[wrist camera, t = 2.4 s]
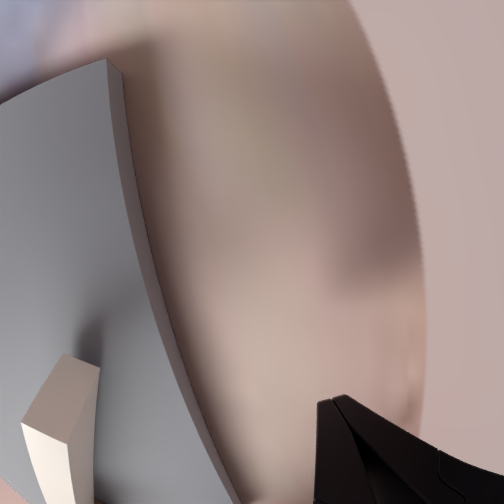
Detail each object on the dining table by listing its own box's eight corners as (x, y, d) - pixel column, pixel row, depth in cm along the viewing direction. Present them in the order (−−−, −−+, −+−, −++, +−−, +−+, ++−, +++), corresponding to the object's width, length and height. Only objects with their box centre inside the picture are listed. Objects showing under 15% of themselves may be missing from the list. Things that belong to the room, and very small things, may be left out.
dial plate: (243, 507, 13) (246, 529, 12) (38, 494, 12) (33, 510, 10) (122, 73, 7) (102, 54, 5) (-111, 207, 6) (-131, 214, 4)
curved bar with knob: (120, 527, 11) (115, 574, 7) (56, 505, 10) (44, 549, 7) (154, 377, 8) (133, 489, 4) (26, 326, 7) (-42, 404, 3)
